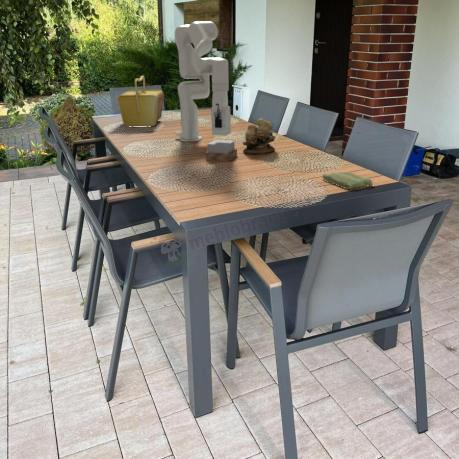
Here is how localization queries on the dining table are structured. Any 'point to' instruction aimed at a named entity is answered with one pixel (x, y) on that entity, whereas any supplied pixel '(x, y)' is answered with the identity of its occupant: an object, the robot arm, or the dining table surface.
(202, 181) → the dining table surface
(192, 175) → the dining table surface
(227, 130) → the supplement box
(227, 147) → the grey top block
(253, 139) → the carved figurine
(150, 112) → the picnic basket
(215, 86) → the robot arm
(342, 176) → the washcloth
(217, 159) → the walnut base block
